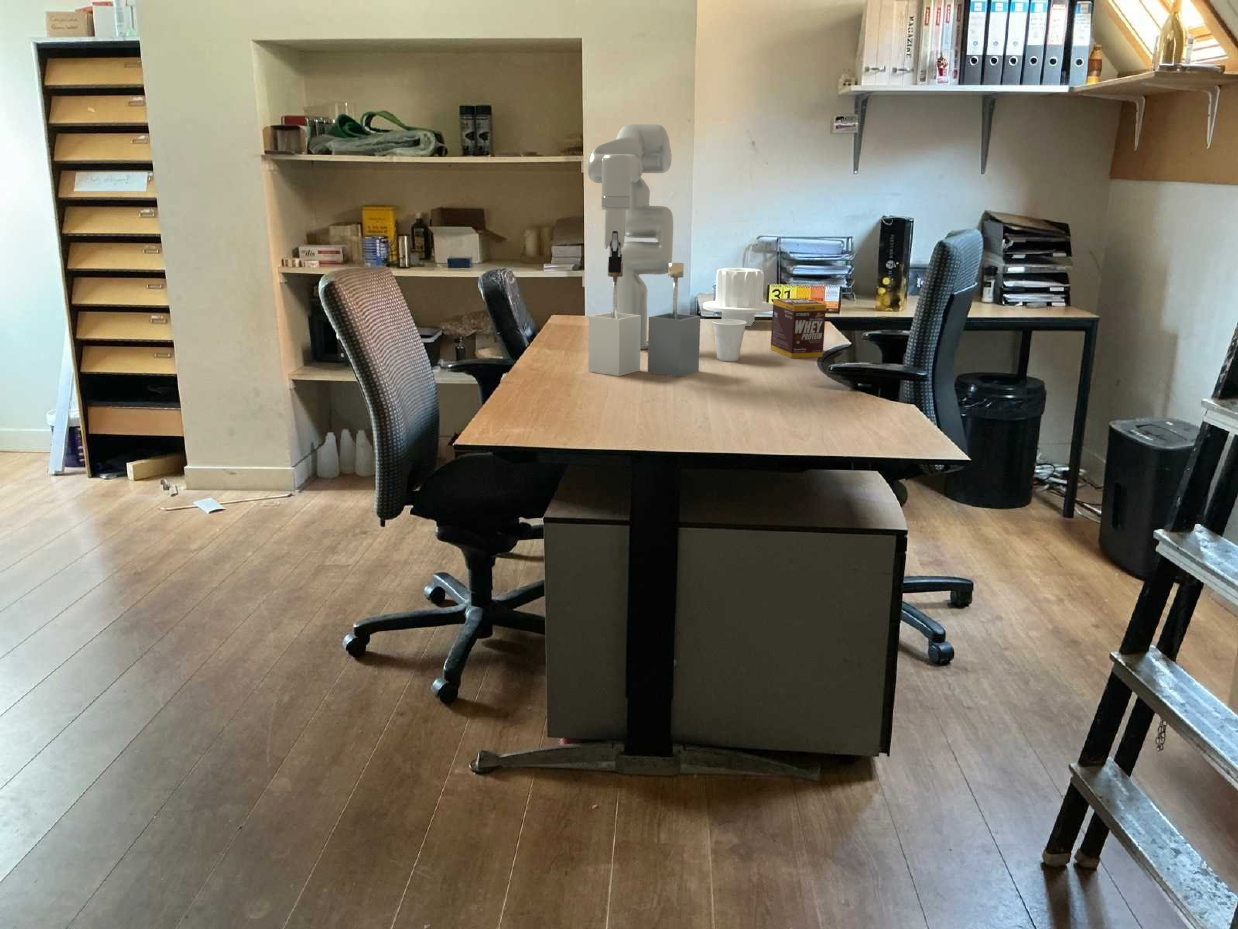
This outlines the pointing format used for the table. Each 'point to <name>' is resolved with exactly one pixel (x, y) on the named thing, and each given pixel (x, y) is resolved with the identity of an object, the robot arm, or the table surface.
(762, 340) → the table surface
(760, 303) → the flanged gear
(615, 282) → the bronze knobbed rod
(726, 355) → the cup
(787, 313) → the supplement box
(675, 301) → the brass knobbed plunger
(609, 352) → the white open box
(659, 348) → the grey open box
